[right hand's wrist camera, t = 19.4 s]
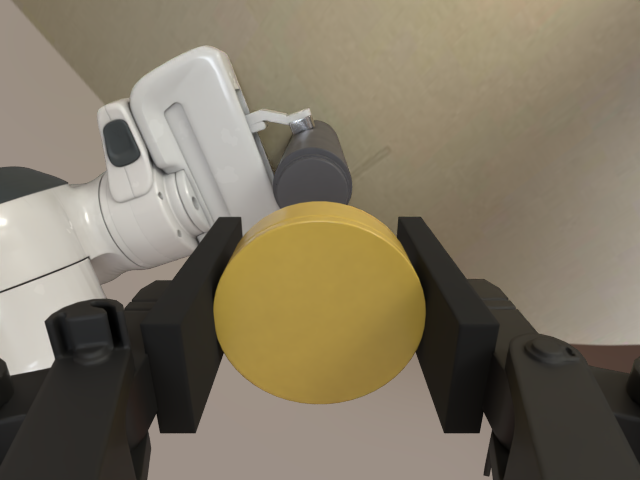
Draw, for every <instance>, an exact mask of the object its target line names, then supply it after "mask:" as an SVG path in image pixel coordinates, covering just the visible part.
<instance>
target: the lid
mask: <svg viewBox="0 0 640 480" xmlns="http://www.w3.org/2000/svg"><path fill="white" fill-rule="evenodd" d="M213 312H214V322H215V330H216V335H217V339H218V341H219V343H220V346H221V348H222V350H223V352H224V353H225V355H226V357H227V358H228V360H229V361H230V362H231V364H232V365H233V366H234V367H235V369H236V370H237V371H238V372H239V373H240V374H241V375H242V376H243V377H244V378H246V379H247V380H248V381H250V382H251V383H252V384H254V385H255V386H257V387H258V388H260V389H262V390H264V391H265V392H268V393H270V394H272V395H274V396H277V397H280V398H283V399H286V400H289V401H294V402H299V403H307V404H332V403H340V402H345V401H349V400H353V399H356V398H359V397H362V396H365V395H367V394H369V393H371V392H373V391H375V390H377V389H379V388H380V387H382V386H384V385H385V384H387V383H388V382H389V381H391V380H392V379H393V378H395V377H396V376H397V375H398V374H399V373H400V372H401V371H402V370H403V369H404V368H405V366H406V365H407V364H408V362H409V361H410V360H411V358H412V357H413V355H414V353H415V352H416V350H417V348H418V346H419V343H420V341H421V338H422V335H423V331H424V327H425V318H426V302H425V297H424V292H423V288H422V286H421V283H420V280H419V278H418V276H417V274H416V272H415V270H414V268H413V266H412V264H411V262H410V260H409V258H408V256H407V254H406V252H405V250H404V248H403V246H402V244H401V243H400V241H399V240H398V239H397V237H396V236H395V235H394V233H393V232H392V231H391V230H390V229H389V228H388V227H386V226H385V225H384V224H383V223H382V222H380V221H379V220H378V219H376V218H375V217H373V216H372V215H370V214H368V213H366V212H364V211H362V210H360V209H357V208H355V207H352V206H348V205H345V204H341V203H334V202H326V201H312V202H305V203H298V204H294V205H291V206H287V207H284V208H282V209H279V210H277V211H275V212H273V213H271V214H269V215H267V216H266V217H264V218H263V219H261V220H260V221H259V222H257V223H256V224H255V225H253V226H252V227H251V228H250V230H249V231H248V232H247V233H246V234H245V235H244V236H243V237H242V239H241V240H240V241H239V243H238V244H237V246H236V248H235V250H234V252H233V254H232V256H231V258H230V260H229V262H228V264H227V266H226V268H225V270H224V272H223V274H222V276H221V278H220V280H219V283H218V286H217V288H216V292H215V297H214V302H213Z"/></svg>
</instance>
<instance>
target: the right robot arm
mask: <svg viewBox="0 0 640 480" xmlns="http://www.w3.org/2000/svg"><path fill="white" fill-rule="evenodd" d="M242 237H243V234H242V220H241V217H218V219H217V220H216V222H215V223H214V224H213V226H212V227H211V228H210V230H209V231H208V232H207V234H206V235H205V236H204V238H203V239H202V241H201V242H200V243H199V245H198V246H197V247H196V249H195V250H194V251H193V253H192V254H191V255H190V257H189V258H188V260H187V261H186V262H185V264H184V265H183V267H182V268H181V269H180V270H179V272H178V273H177V274H176V276H175V277H174V279H173V280H156V281H154V282H153V283H151V284H149V285H148V286H146V287H144V288H142V289H141V290H140V291H139V292H138V293H137V294H136V296H135V297H134V298H133V299H132V302H130V303H129V304H128V305H127V306H126V307H125V309H124V308H123V305H122V304H121V303H119V302H118V301H117V300H111V299H90V300H85V301H80V302H77V303H74V304H71V305H68V306H65V307H63V308H61V309H60V310H58V311H56V312H54V313H53V314H51V315H50V316H49V317H48V318H47V319H46V320H45V321H44V322H45V326H46V329H47V333H48V336H49V340H50V343H51V347H52V350H53V354H54V357H55V360H54V362H53V364H52V366H51V367H50V368H46V369H41V370H36V371H31V372H26V373H21V374H16V375H10V373H9V370H8V367H7V364H6V362H5V361H4V360H2V359H1V358H0V480H147V477H148V469H149V461H150V453H151V444H150V438H149V433H148V429H149V427H150V425H151V423H152V421H153V419H154V417H155V415H156V414H157V419H158V424H159V430H160V433H196V430H197V427H198V425H199V422H200V419H201V416H202V413H203V411H204V408H205V405H206V402H207V399H208V396H209V393H210V391H211V388H212V385H213V382H214V379H215V376H216V373H217V371H218V368H219V365H220V362H221V359H222V356H223V354H224V352H223V350H222V348H221V346H220V343H219V341H218V339H217V335H216V330H215V322H214V312H213V302H214V297H215V292H216V288H217V286H218V283H219V280H220V278H221V276H222V274H223V272H224V270H225V268H226V266H227V264H228V262H229V260H230V258H231V256H232V254H233V252H234V250H235V248H236V246H237V244H238V243H239V241H240V240H241V239H242ZM397 239H398V240H399V241H400V243H401V244H402V246H403V248H404V250H405V252H406V254H407V256H408V258H409V260H410V262H411V264H412V266H413V268H414V270H415V272H416V274H417V276H418V278H419V280H420V283H421V286H422V288H423V292H424V297H425V302H426V318H425V327H424V331H423V335H422V338H421V341H420V343H419V346H418V348H417V350H416V354H417V357H418V360H419V363H420V366H421V369H422V371H423V374H424V377H425V380H426V383H427V386H428V389H429V391H430V394H431V397H432V400H433V403H434V405H435V408H436V411H437V414H438V417H439V420H440V423H441V426H442V428H443V431H444V433H480V428H481V423H482V417H483V412H484V413H485V416H486V417H487V419H488V422H489V424H490V426H491V428H492V433H491V438H490V443H489V448H488V453H487V458H486V463H485V468H484V476H489V475H490V470H491V468H492V476H493V480H640V357H638V358H637V359H635V360H634V363H633V367H632V369H631V372H630V374H629V373H624V372H619V371H614V370H608V369H603V368H598V367H594V366H589V365H588V363H587V361H586V359H585V358H584V357H583V356H582V354H581V353H580V352H579V351H578V350H577V349H575V348H574V347H572V346H571V345H569V344H568V343H566V342H564V341H561V340H559V339H557V338H554V337H551V336H547V335H542V334H538V332H537V331H536V330H535V329H534V328H533V327H532V326H531V324H530V323H529V322H528V321H527V320H526V319H525V317H524V316H523V315H522V314H521V313H520V312H519V310H518V309H516V307H515V306H514V305H513V303H512V302H511V301H508V298H507V296H506V295H505V294H504V293H503V292H502V291H501V290H500V288H498V287H497V286H495V285H493V284H491V283H490V282H488V281H486V280H485V279H466V278H465V276H464V275H463V273H462V272H461V271H460V269H459V268H458V267H457V265H456V264H455V263H454V261H453V260H452V259H451V257H450V256H449V254H448V253H447V252H446V250H445V249H444V248H443V246H442V245H441V244H440V242H439V241H438V240H437V238H436V237H435V235H434V234H433V233H432V231H431V230H430V229H429V227H428V226H427V225H426V223H425V222H424V221H423V219H422V218H421V217H398V230H397Z"/></svg>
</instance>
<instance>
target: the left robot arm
mask: <svg viewBox="0 0 640 480" xmlns="http://www.w3.org/2000/svg"><path fill="white" fill-rule="evenodd" d="M97 121H98V127H99V131H100V136H101V141H102V145H103V151H104V156H105V162H106V168H107V171H105V172H104V173H102V174H101V175H100V176H98V177H97V178H96V179H94V180H92V181H91V182H88V183H85V184H71V185H68V182H66V181H64V180H62V179H60V178H57V177H55V176H52V175H49V174H45V173H42V172H39V171H36V170H33V169H30V168H25V167H2V168H0V358H1V359H2V360H4V361H5V362H6V364H7V367H8V370H9V373H10V375H16V374H21V373H26V372H31V371H36V370H41V369H46V368H50V367H51V366H52V364H53V362H54V360H55V357H54V354H53V350H52V347H51V343H50V340H49V336H48V333H47V329H46V326H45V322H44V321H45V320H46V319H47V318H48V317H49V316H50V315H51V314H53V313H54V312H56V311H58V310H60V309H61V308H63V307H65V306H68V305H71V304H74V303H77V302H80V301H85V300H90V299H107V298H106V296H105V294H104V292H103V289H102V287H101V284H104V283H107V282H110V281H112V280H114V279H115V278H117V277H118V276H120V275H121V274H122V273H124V272H126V271H130V270H145V269H150V268H153V267H157V266H160V265H163V264H166V263H169V262H172V261H175V260H178V259H181V258H184V257H187V256H190V255H191V254H192V253H193V251H194V250H195V249H196V247H197V246H198V245H199V243H200V242H201V241H202V239H203V238H204V236H205V235H206V234H207V232H208V231H209V230H210V228H211V227H212V226H213V224H214V223H215V222H216V220H217V219H218V217H241V220H242V234H243V236H244V235H245V234H246V233H247V232H248V231H249V230H250V228H251V227H252V226H253V225H255V224H256V223H257V222H259V221H260V220H261V219H263V218H264V217H266V216H267V215H269V214H271V213H273V212H275V211H277V210H279V209H280V208H279V206H278V204H277V203H276V200H275V198H274V194H273V178H274V173H273V171H272V168H271V166H270V163H269V160H268V158H267V155H266V153H265V150H264V147H263V145H262V142H261V140H260V137H259V134H258V132H257V131H260V130H263V129H265V128H266V127H267V126H268V125H269V123H268V121H269V122H275V123H280V124H285V125H290V128H291V130H292V133H293V135H295V134H298V133H301V132H302V131H303V129H304V130H310V129H312V128H314V127H315V124H314V121H313V117H312V114H311V111H310V108H306V109H303V110H300V111H297V112H295V113H292V114H289V115H288V114H287V113H283V112H278V111H273V110H269V109H264V108H263V109H260V110H257V111H255V112H252V113H250V111H249V109H248V106H247V103H246V101H245V98H244V96H243V93H242V90H241V88H240V85H239V83H238V80H237V78H236V75H235V72H234V70H233V67H232V65H231V62H230V59H229V57H228V55H227V54H226V53H225V52H223V51H221V50H219V49H217V48H215V47H212V46H200V47H197V48H194V49H192V50H189V51H187V52H185V53H183V54H181V55H179V56H177V57H175V58H173V59H171V60H169V61H167V62H165V63H163V64H162V65H160V66H158V67H157V68H155V69H153V70H152V71H150V72H149V73H147V74H146V75H144V76H143V77H142V78H141V79H140V80H139V81H138V82H137V83H136V84H135V85H134V87H133V89H132V91H131V94H130V98H124V99H120V100H116V101H113V102H111V103H108V104H106V105H104V106H102V107H101V108H100V109H99V110H98V112H97Z"/></svg>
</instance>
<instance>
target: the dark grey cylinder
mask: <svg viewBox="0 0 640 480" xmlns="http://www.w3.org/2000/svg"><path fill="white" fill-rule="evenodd" d="M313 121H314V124H315V127H314V128H312V129H310V130H304V129H303V131H302V132H301V133H298V134H295V135H292V137H291V140H290V142H289V144H288V146H287V148H286V150H285V152H284V154H283V157H282V159H281V161H280V163H279V165H278V167H277V169H276V172H275V174H274V178H273V194H274V198H275V200H276V203H277V204H278V206H279V208H280V209H282V208H284V207H287V206H291V205H294V204H298V203H305V202H312V201H326V202H334V203H341V204H345V205H348V203H349V200H350V198H351V194H352V179H351V175H350V172H349V169H348V166H347V163H346V160H345V157H344V154H343V151H342V149H341V146H340V143H339V140H338V137H337V134H336V132H335V131H334V130H333V128H332V127H331V126H330V125H328V124H326V123H325V122H322V121H317V120H313Z"/></svg>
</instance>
